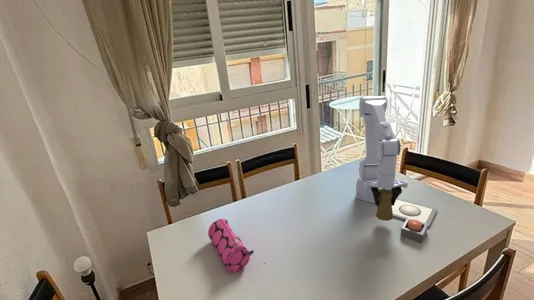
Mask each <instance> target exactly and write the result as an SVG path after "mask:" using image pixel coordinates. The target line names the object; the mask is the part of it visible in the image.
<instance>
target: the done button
mask: <svg viewBox="0 0 534 300" xmlns="http://www.w3.org/2000/svg"><path fill="white" fill-rule="evenodd" d="M421 228H422V223H421V222H420V221H418V220H409V221H408V229H410V230H414V231H417V232H421Z"/></svg>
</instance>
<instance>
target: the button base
mask: <svg viewBox="0 0 534 300" xmlns="http://www.w3.org/2000/svg"><path fill="white" fill-rule="evenodd" d="M409 220H412V219H408V218H407V219H406V221H404V222H403V224H402V227H401V228H400V235H399V236H400V237H402V238H404V239H408V240H411V241H414V242H417V243H420V244H422V243H423V242H424V239H425V237H426V235H427V233H428V229H429V228H428V224H425V223H422V222H421V223H422V228H421V232H417V231H414V230H410V229H408V221H409Z"/></svg>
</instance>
